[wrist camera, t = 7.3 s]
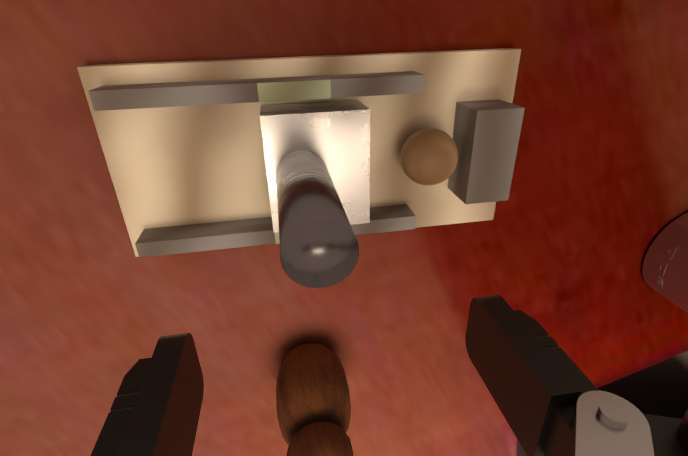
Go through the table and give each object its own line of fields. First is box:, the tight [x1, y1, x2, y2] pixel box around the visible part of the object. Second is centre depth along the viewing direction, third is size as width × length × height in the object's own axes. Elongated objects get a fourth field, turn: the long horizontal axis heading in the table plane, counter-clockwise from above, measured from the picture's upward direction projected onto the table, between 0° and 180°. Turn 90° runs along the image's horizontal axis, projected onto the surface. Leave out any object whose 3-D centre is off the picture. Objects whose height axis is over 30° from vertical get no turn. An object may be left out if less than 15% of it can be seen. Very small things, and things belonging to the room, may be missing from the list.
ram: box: [260, 100, 370, 288], centre depth 21 cm, size 6×7×12 cm
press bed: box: [77, 48, 525, 258], centre depth 25 cm, size 26×12×4 cm, turn 91°
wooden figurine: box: [276, 343, 353, 456], centre depth 29 cm, size 7×6×15 cm
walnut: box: [401, 128, 458, 186], centre depth 26 cm, size 4×4×4 cm
